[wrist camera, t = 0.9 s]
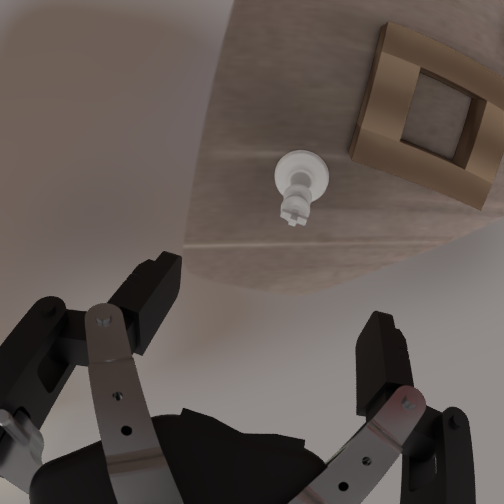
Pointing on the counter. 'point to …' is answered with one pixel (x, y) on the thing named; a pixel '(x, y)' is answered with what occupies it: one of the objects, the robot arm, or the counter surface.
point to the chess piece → (300, 184)
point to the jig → (398, 104)
